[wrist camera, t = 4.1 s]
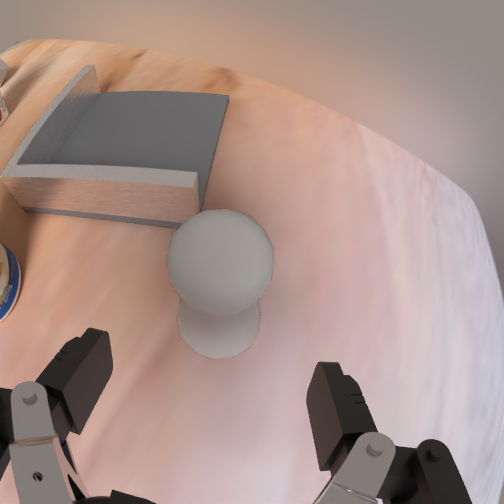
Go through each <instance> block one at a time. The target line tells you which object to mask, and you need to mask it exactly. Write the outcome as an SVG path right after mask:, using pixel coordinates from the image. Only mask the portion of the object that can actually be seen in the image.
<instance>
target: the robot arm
mask: <svg viewBox="0 0 504 504" xmlns="http://www.w3.org/2000/svg"><path fill="white" fill-rule="evenodd" d="M112 370H113V359H112V353H111V346H110V339H109V334H108V332H107V331H102V330H98V329H94V328H88V329H87V330H86V331H85V333H84V334H83V335H82V336H81V338H79V337H75V338H73V339H72V340H70V341H68V342H66V344H65V345H64V346H63V347H62V348H61V350H60V352H58V353H57V354H56V356H55V357H54V359H52V361H51V362H50V363H49V364H48V366H47V367H46V368H45V369H44V371H43V372H42V373H41V374H40V376H39V377H38V378H37V380H36V381H35V382H31V381H28V382H23V383H20V384H19V385H17V386H16V387H15V388H14V389H13V390H12V389H6V388H0V481H1V478H2V476H3V474H4V472H5V470H6V468H7V465H8V463H9V461H10V459H11V463H12V469H13V474H14V479H15V484H16V488H17V492H18V496H19V500H20V504H156V503H153V502H151V501H149V500H147V499H144V498H140V497H136V496H132V495H129V494H125V493H122V492H119V491H115V490H112V492H111V495H110V497H108V496H97V497H90V496H89V494H88V492H87V490H86V488H85V486H84V484H83V482H82V480H81V478H80V475H79V472H78V470H77V467H76V464H75V461H74V458H73V455H72V452H71V449H70V445H69V442H68V439H67V436H68V434H69V432H70V431H71V432H73V433H76V434H78V435H80V434H81V432H82V430H83V428H84V426H85V424H86V422H87V420H88V418H89V416H90V414H91V412H92V410H93V409H94V407H95V405H96V403H97V401H98V399H99V397H100V395H101V393H102V392H103V390H104V388H105V386H106V384H107V382H108V380H109V379H110V377H111V374H112ZM365 402H366V401H365V399H364V397H363V396H362V392H361V389H360V387H359V385H358V383H357V382H356V381H355V380H354V379H353V378H352V377H351V376H350V375H343V372H342V369H341V367H340V365H339V363H338V362H318V363H317V365H316V368H315V371H314V374H313V377H312V379H311V382H310V385H309V388H308V391H307V398H306V403H307V409H308V414H309V418H310V423H311V428H312V433H313V438H314V443H315V448H316V453H317V458H318V464H319V469H320V471H328V470H330V471H331V476H332V477H331V478H330V479H329V481H328V482H327V484H326V485H325V487H324V488H323V490H322V491H321V492H320V494H319V495H318V497H317V498H316V499H315V501H314V502H313V503H312V504H378V501H377V500H375V499H376V498H380V499H382V501H383V504H472V502H471V499H470V497H469V494H468V492H467V490H466V487H465V485H464V482H463V480H462V478H461V475H460V473H459V471H458V468H457V466H456V464H455V462H454V460H453V457H452V455H451V453H450V451H449V449H448V448H447V446H446V445H445V444H444V443H442V442H440V441H438V440H434V439H428V440H425V441H423V442H421V443H420V445H419V446H418V447H417V448H408V447H399V446H395V445H394V443H393V441H392V440H391V439H390V438H389V437H387V436H386V435H384V434H382V433H378V431H377V428H376V426H375V423H374V421H373V418H372V416H371V413H370V411H369V409H368V406H367V404H365Z"/></svg>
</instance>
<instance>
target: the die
mask: <svg viewBox="0 0 504 504" xmlns="http://www.w3.org/2000/svg"><path fill="white" fill-rule="evenodd" d="M8 69H9V66H8V65H7V64H6V63H5V62H4V61H3V60H2V59H1V58H0V88H1V85H2V83H3V80H4V78H5V76H6V74H7V71H8Z"/></svg>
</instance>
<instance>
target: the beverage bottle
mask: <svg viewBox="0 0 504 504" xmlns="http://www.w3.org/2000/svg"><path fill="white" fill-rule="evenodd" d="M20 284H21V272H20V266H19V263H18V260H17V258H16V257H15V255H14V254H13V253H12V252H11V251H10V250H9V249H8V248H7V247H5V246H4V245H3V244H2V243H1V242H0V322H1V321H2V320H3V319H5V318H6V317H7V315H8V314H9V313H10V312H11V310H12V308H13V307H14V305H15V302H16V300H17V297H18V294H19V290H20Z"/></svg>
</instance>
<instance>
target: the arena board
mask: <svg viewBox="0 0 504 504" xmlns="http://www.w3.org/2000/svg"><path fill="white" fill-rule="evenodd" d="M228 102H229V95H219V94H207V93H192V92H167V91H131V92H106V93H100V95H99V96H98V97H97V99H96V100H95V101H94V103H93V104H92V105H91V107H90V108H89V109H88V111H87V112H86V113H85V115H84V116H83V118H82V119H81V120H80V122H79V123H78V125H77V126H76V128H75V129H74V131H73V132H72V134H71V135H70V137H69V138H68V140H67V141H66V143H65V144H64V146H63V147H62V149H61V151H60V152H59V154H58V156H57V157H56V159H55V161H54V162H53V164H71V165H104V166H124V167H140V168H154V169H167V170H178V171H188V172H197V178H198V195H199V213H200V212H201V210H202V205H203V201H204V196H205V192H206V188H207V183H208V179H209V175H210V171H211V167H212V163H213V159H214V155H215V151H216V147H217V143H218V139H219V135H220V131H221V128H222V124H223V120H224V117H225V113H226V109H227V106H228ZM21 207H22V208H23V209H24V211H29V212H39V213H48V214H57V215H67V216H76V217H85V218H94V219H103V220H111V221H120V222H128V223H137V224H145V225H154V226H162V227H170V228H179V227H180V226H181V224H182V223H177V222H169V221H160V220H152V219H143V218H134V217H126V216H116V215H107V214H98V213H88V212H79V211H69V210H59V209H48V208H38V207H27V206H21Z"/></svg>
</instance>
